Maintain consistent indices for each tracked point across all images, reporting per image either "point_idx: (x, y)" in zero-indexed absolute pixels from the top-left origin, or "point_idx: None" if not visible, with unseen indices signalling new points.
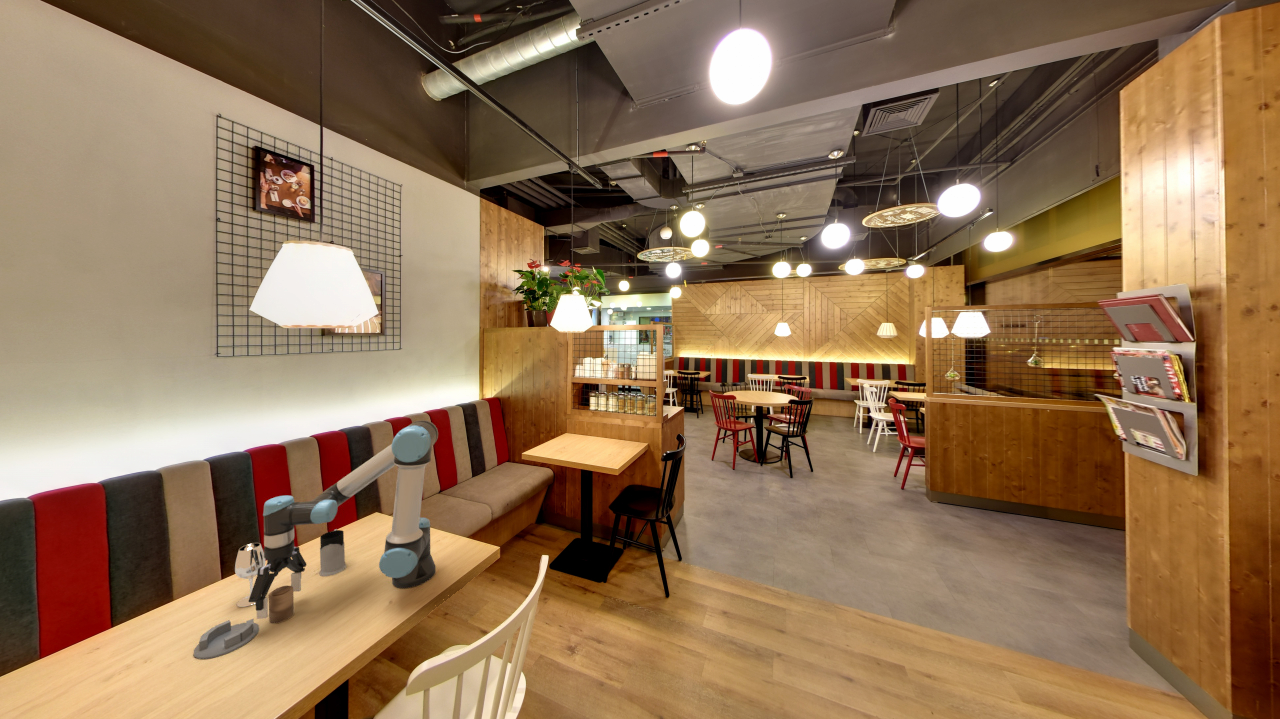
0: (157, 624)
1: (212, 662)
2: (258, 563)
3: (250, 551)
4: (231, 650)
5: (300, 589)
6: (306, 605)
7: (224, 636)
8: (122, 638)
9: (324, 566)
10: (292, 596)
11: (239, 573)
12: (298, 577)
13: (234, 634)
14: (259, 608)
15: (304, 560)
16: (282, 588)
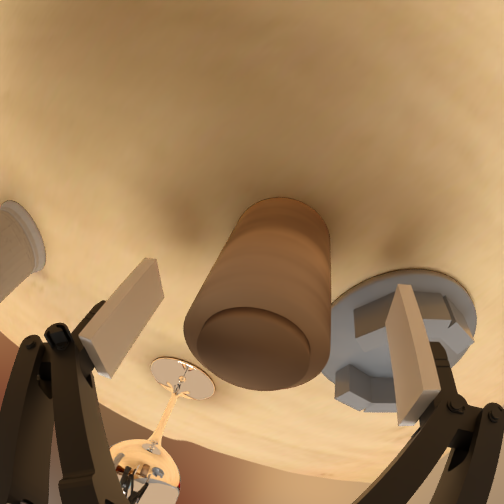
0: (270, 457)
1: (493, 312)
2: (130, 484)
3: None
4: (469, 296)
5: (145, 261)
6: (196, 180)
7: (382, 361)
8: (303, 468)
9: (17, 264)
10: (247, 254)
11: (179, 489)
12: (108, 322)
13: (449, 338)
14: (445, 358)
15: (10, 375)
16: (232, 357)
